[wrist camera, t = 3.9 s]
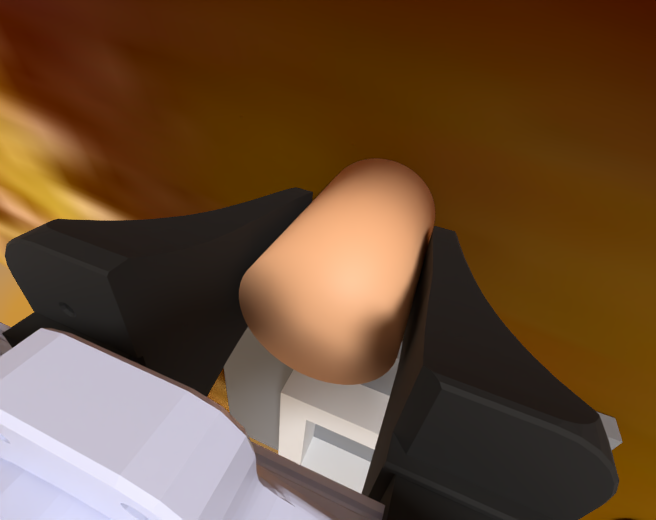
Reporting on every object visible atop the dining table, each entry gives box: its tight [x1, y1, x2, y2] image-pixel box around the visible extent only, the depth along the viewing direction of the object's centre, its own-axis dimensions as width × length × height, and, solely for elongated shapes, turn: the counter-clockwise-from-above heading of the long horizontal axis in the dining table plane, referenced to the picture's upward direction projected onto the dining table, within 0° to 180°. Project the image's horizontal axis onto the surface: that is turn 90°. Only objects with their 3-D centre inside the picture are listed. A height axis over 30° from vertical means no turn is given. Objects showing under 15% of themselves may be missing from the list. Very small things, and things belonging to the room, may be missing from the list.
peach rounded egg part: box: [239, 158, 435, 385], centre depth 10 cm, size 4×4×6 cm
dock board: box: [224, 327, 622, 494], centre depth 19 cm, size 18×14×3 cm
